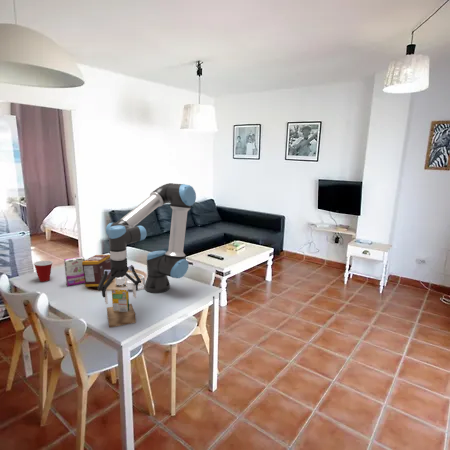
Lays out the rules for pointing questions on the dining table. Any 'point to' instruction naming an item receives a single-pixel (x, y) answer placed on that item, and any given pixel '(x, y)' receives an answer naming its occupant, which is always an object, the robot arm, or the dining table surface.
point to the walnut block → (120, 317)
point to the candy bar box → (74, 271)
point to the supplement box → (96, 269)
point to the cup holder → (128, 282)
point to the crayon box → (120, 300)
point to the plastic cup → (43, 270)
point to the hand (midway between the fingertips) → (120, 299)
